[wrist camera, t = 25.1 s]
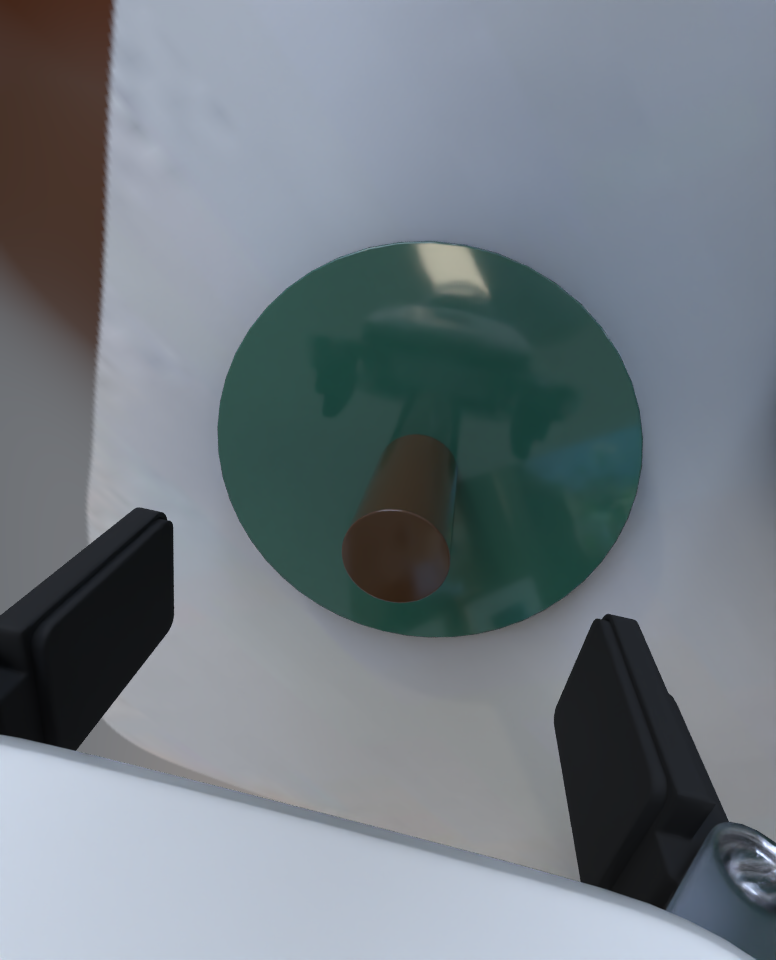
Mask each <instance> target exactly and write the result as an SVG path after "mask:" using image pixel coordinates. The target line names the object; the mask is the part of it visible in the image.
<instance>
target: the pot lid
mask: <svg viewBox="0 0 776 960" xmlns="http://www.w3.org/2000/svg"><path fill="white" fill-rule="evenodd" d="M642 446H643V436H642V427H641V419H640V410H639V407H638V403H637V399H636V396H635V392H634V388H633V385H632V381H631V379H630V377H629V375H628V373H627V370H626V368H625V366H624V364H623V361H622V359H621V357H620V355H619V353H618V351H617V350H616V348H615V347H614V345H613V344H612V342H611V341H610V339H609V338H608V336H607V334H606V333H605V331H604V330H603V328H602V327H601V326H600V325H599V324H598V323H597V322H596V320H595V319H594V318H593V317H592V316H591V315H590V314H589V313H588V311H587V310H586V309H585V308H584V307H583V306H582V305H581V304H580V303H579V302H578V301H577V300H575V299H574V298H573V297H572V296H571V295H569V294H568V293H567V292H566V291H565V290H563V289H562V288H561V287H560V286H559V285H558V284H556V283H555V282H553V281H551V280H550V279H548V278H546V277H545V276H543V275H542V274H540V273H538V272H537V271H535V270H533V269H532V268H530V267H528V266H527V265H524V264H522V263H520V262H517V261H515V260H513V259H510V258H508V257H506V256H503V255H501V254H499V253H495V252H492V251H488V250H484V249H480V248H477V247H473V246H469V245H464V244H455V243H447V242H438V241H419V242H398V243H392V244H387V245H381V246H375V247H369V248H366V249H363V250H360V251H357V252H354V253H351V254H348V255H345V256H342V257H339V258H337V259H335V260H333V261H331V262H329V263H327V264H325V265H323V266H321V267H319V268H317V269H315V270H313V271H311V272H309V273H308V274H307V275H305V276H304V277H302V278H301V279H299V280H298V281H297V282H295V283H294V284H292V285H291V286H289V287H288V288H287V289H286V290H285V291H284V292H283V293H281V294H280V295H279V296H278V297H277V298H276V299H275V300H274V301H273V302H272V303H271V304H270V305H269V306H268V307H267V308H266V309H265V310H264V311H263V313H262V314H261V315H260V316H259V318H258V319H257V320H256V322H255V323H254V324H253V325H252V327H251V328H250V329H249V331H248V332H247V334H246V336H245V338H244V339H243V341H242V343H241V345H240V346H239V348H238V350H237V352H236V353H235V356H234V359H233V361H232V364H231V366H230V369H229V371H228V374H227V376H226V380H225V384H224V388H223V392H222V396H221V400H220V408H219V418H218V451H219V458H220V464H221V470H222V475H223V479H224V482H225V486H226V489H227V492H228V495H229V499H230V501H231V503H232V506H233V508H234V510H235V512H236V515H237V517H238V519H239V521H240V523H241V524H242V526H243V528H244V530H245V531H246V533H247V535H248V536H249V538H250V540H251V541H252V543H253V544H254V545H255V546H256V548H257V549H258V550H259V552H260V553H261V554H262V556H263V557H264V558H265V560H266V561H267V562H268V563H269V564H270V565H271V566H272V567H273V568H274V569H275V570H276V571H277V572H278V573H279V574H280V575H281V576H282V577H283V578H284V579H285V580H286V581H288V582H289V583H290V584H291V585H292V586H294V587H295V588H296V589H297V590H298V591H299V592H301V593H302V594H304V595H305V596H307V597H308V598H310V599H311V600H313V601H314V602H316V603H317V604H319V605H320V606H322V607H324V608H326V609H328V610H330V611H332V612H334V613H335V614H337V615H339V616H342V617H344V618H346V619H349V620H351V621H354V622H356V623H359V624H361V625H365V626H368V627H371V628H375V629H378V630H381V631H386V632H391V633H396V634H402V635H408V636H419V637H457V636H465V635H473V634H479V633H483V632H488V631H492V630H496V629H500V628H503V627H506V626H509V625H512V624H514V623H517V622H520V621H523V620H525V619H527V618H529V617H531V616H533V615H535V614H537V613H539V612H541V611H543V610H545V609H547V608H548V607H550V606H551V605H553V604H554V603H556V602H558V601H559V600H561V599H562V598H564V597H565V596H567V595H568V594H569V593H570V592H571V591H572V590H574V589H575V588H576V587H577V586H578V585H580V584H581V583H582V582H583V581H584V580H585V579H586V578H587V577H588V576H589V575H590V574H591V573H592V572H593V571H594V570H595V568H596V567H597V566H598V565H599V564H600V563H601V562H602V561H603V559H604V558H605V556H606V555H607V553H608V552H609V551H610V549H611V548H612V546H613V545H614V543H615V542H616V540H617V539H618V537H619V535H620V533H621V531H622V529H623V527H624V525H625V523H626V521H627V519H628V517H629V514H630V511H631V508H632V505H633V502H634V499H635V496H636V494H637V489H638V484H639V478H640V473H641V468H642Z"/></svg>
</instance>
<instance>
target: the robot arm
mask: <svg viewBox="0 0 776 960" xmlns="http://www.w3.org/2000/svg"><path fill="white" fill-rule="evenodd" d="M173 618H174V566H173V524H172V522H171V521H168V520H167V517H166V515H165V514H164V513H162V512H158V511H153V510H149V509H145V508H135V509H134V510H132V511H131V512H130V513H129V514H127V515H126V516H125V517H124V518H122V519H121V520H120V521H119V522H117V523H116V524H115V525H113V526H112V527H111V528H110V529H108V530H107V531H106V532H105V533H103V534H102V535H101V536H100V537H98V538H97V539H96V540H95V541H93V542H92V543H91V544H90V545H88V546H87V547H86V548H85V549H83V550H82V551H81V552H80V553H78V554H77V555H76V556H75V557H73V558H72V559H71V560H69V562H67V563H66V564H64V565H63V566H62V567H61V568H60V569H58V570H57V571H56V572H54V573H53V574H52V575H51V576H49V577H48V578H47V579H46V580H44V581H43V582H42V583H41V584H39V585H38V586H37V587H36V588H34V589H33V590H32V591H31V592H29V593H28V594H27V595H25V596H24V597H23V598H22V599H21V600H19V601H18V602H17V603H16V604H14V605H13V606H12V607H10V608H9V609H8V610H7V611H5V612H4V613H3V614H2V615H0V960H776V843H775V842H774V841H772V840H771V839H769V838H768V837H766V836H765V835H763V834H762V833H760V832H759V831H757V830H755V829H752V828H750V827H748V826H745V825H743V824H738V823H733V822H729V821H728V819H727V816H726V814H725V812H724V810H723V807H722V805H721V803H720V801H719V798H718V796H717V794H716V792H715V789H714V787H713V785H712V783H711V780H710V778H709V776H708V773H707V771H706V769H705V767H704V764H703V762H702V760H701V758H700V755H699V753H698V751H697V749H696V746H695V744H694V742H693V740H692V737H691V735H690V733H689V731H688V728H687V726H686V724H685V721H684V719H683V717H682V715H681V712H680V710H679V708H678V706H677V703H676V702H675V700H674V698H673V697H672V696H671V695H670V694H668V691H667V689H666V687H665V684H664V682H663V680H662V677H661V675H660V673H659V671H658V668H657V666H656V664H655V661H654V659H653V657H652V654H651V652H650V650H649V648H648V645H647V643H646V641H645V638H644V636H643V634H642V631H641V629H640V627H639V625H638V623H637V621H635V620H633V619H628V618H624V617H619V616H615V615H611V614H606V615H605V616H604V617H603V619H595V620H594V621H593V623H592V625H591V628H590V630H589V632H588V634H587V637H586V639H585V641H584V644H583V646H582V648H581V651H580V653H579V655H578V658H577V660H576V662H575V665H574V667H573V669H572V671H571V674H570V676H569V678H568V681H567V683H566V685H565V688H564V690H563V692H562V695H561V697H560V699H559V701H558V704H557V706H556V709H555V714H554V727H555V733H556V739H557V744H558V750H559V756H560V762H561V768H562V774H563V780H564V786H565V792H566V797H567V803H568V809H569V815H570V821H571V827H572V833H573V839H574V844H575V850H576V856H577V862H578V868H579V874H580V880H581V882H579V881H575V880H572V879H568V878H565V877H561V876H557V875H554V874H550V873H547V872H543V871H540V870H536V869H533V868H529V867H526V866H522V865H519V864H515V863H511V862H507V861H504V860H500V859H496V858H492V857H488V856H485V855H481V854H477V853H473V852H470V851H466V850H462V849H458V848H454V847H451V846H447V845H443V844H439V843H435V842H432V841H428V840H424V839H420V838H416V837H413V836H409V835H405V834H401V833H398V832H394V831H390V830H386V829H382V828H378V827H375V826H371V825H367V824H363V823H359V822H355V821H351V820H348V819H344V818H340V817H336V816H332V815H328V814H324V813H320V812H317V811H313V810H309V809H305V808H301V807H297V806H293V805H289V804H286V803H282V802H278V801H274V800H270V799H266V798H262V797H258V796H254V795H250V794H247V793H243V792H239V791H235V790H231V789H227V788H223V787H219V786H215V785H211V784H207V783H203V782H199V781H195V780H191V779H187V778H183V777H179V776H175V775H171V774H167V773H163V772H159V771H156V770H152V769H148V768H144V767H140V766H135V765H132V764H128V763H123V762H120V761H116V760H112V759H108V758H104V757H100V756H95V755H91V754H87V753H82V752H78V751H76V750H77V749H78V747H79V746H80V745H81V744H82V742H83V741H84V740H85V738H86V737H87V736H88V734H89V733H90V732H91V730H92V729H93V728H94V727H95V725H96V724H97V723H98V721H99V720H100V719H101V718H102V716H103V715H104V714H105V713H106V711H107V710H108V709H109V707H110V706H111V705H112V704H113V702H114V701H115V700H116V698H117V697H118V696H119V695H120V693H121V692H122V691H123V689H124V688H125V687H126V686H127V684H128V683H129V682H130V680H131V679H132V678H133V676H134V675H135V674H136V673H137V671H138V670H139V669H140V667H141V666H142V665H143V664H144V662H145V661H146V660H147V658H148V657H149V656H150V655H151V653H152V652H153V651H154V649H155V648H156V647H157V646H158V644H159V643H160V642H161V640H162V639H163V638H164V637H165V635H166V634H167V633H168V631H169V630H170V627H171V625H172V622H173Z"/></svg>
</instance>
